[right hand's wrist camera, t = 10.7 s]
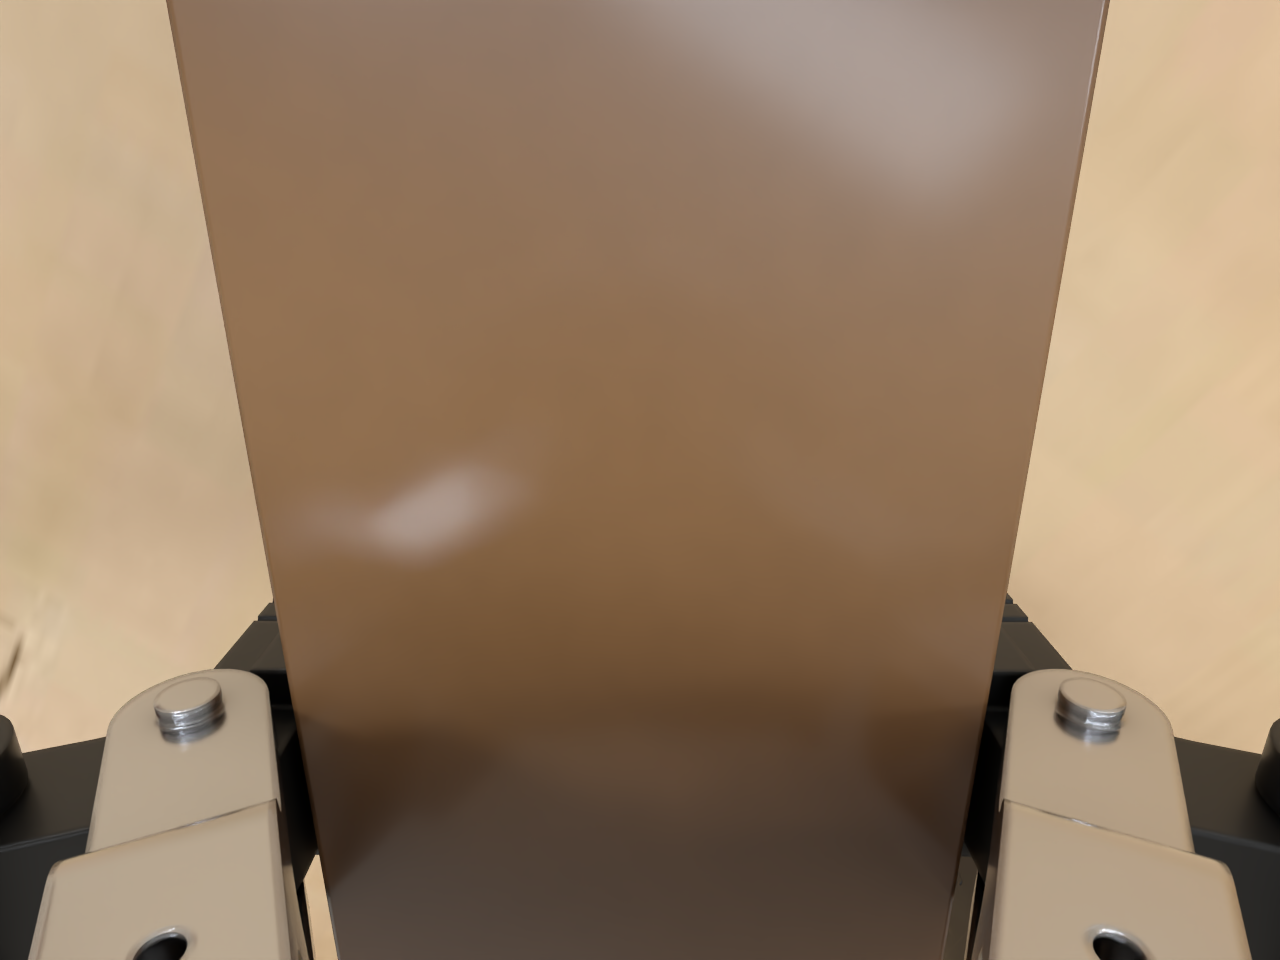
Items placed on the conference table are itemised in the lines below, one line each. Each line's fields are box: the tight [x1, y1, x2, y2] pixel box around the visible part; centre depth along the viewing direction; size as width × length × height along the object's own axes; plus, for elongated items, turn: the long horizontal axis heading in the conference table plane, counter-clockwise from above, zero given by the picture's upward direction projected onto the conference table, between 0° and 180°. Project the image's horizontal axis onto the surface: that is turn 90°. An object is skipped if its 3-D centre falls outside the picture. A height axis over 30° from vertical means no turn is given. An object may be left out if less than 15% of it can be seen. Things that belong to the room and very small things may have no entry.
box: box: [166, 0, 1110, 960], centre depth 10 cm, size 22×6×12 cm, turn 0°
